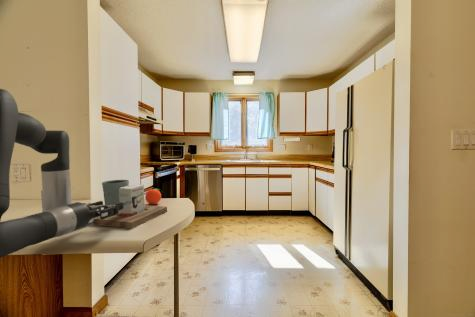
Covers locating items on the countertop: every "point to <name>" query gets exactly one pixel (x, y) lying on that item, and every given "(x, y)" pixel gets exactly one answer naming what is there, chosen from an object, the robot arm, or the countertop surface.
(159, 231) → the countertop surface
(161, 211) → the frame
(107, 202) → the grey cup
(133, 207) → the ink box
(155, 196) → the clementine
